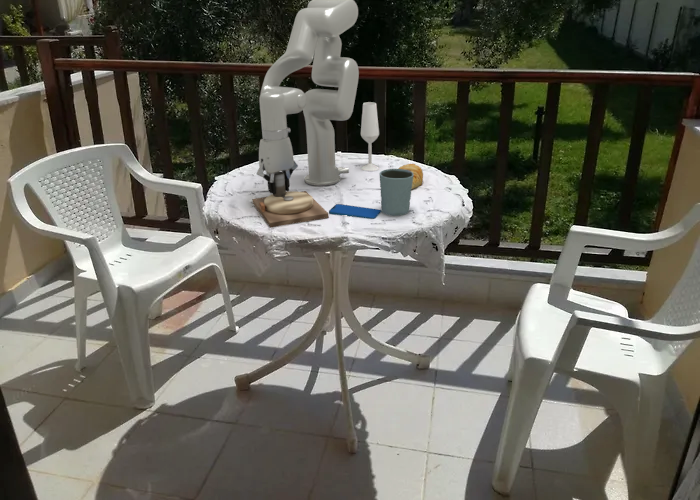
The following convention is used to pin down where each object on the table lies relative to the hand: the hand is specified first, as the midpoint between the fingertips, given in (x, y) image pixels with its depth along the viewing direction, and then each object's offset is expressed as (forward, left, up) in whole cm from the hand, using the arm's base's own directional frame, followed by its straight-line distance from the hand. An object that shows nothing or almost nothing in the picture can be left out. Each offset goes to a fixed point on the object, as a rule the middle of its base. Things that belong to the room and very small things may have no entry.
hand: (279, 191), depth 186 cm
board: (-1, +5, -5) cm, 7 cm away
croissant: (-47, -3, -5) cm, 47 cm away
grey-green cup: (-31, +19, -5) cm, 37 cm away
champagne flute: (-41, -24, -5) cm, 48 cm away
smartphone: (-19, +15, -5) cm, 25 cm away
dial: (-1, +5, -3) cm, 6 cm away
